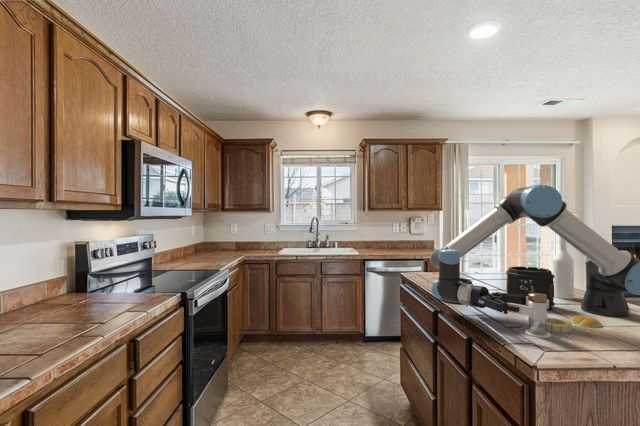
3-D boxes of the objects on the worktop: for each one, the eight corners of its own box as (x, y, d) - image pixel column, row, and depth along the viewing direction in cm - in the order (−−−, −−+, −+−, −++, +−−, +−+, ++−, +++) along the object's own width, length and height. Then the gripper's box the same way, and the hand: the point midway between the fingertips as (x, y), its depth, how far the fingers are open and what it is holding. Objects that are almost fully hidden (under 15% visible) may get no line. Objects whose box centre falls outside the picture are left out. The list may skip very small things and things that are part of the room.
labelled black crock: (540, 301, 157) (540, 266, 157) (564, 312, 139) (563, 272, 139) (498, 300, 158) (498, 265, 159) (516, 311, 141) (516, 272, 141)
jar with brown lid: (541, 330, 112) (541, 292, 112) (550, 335, 107) (550, 296, 107) (525, 330, 112) (525, 292, 112) (533, 335, 107) (533, 296, 107)
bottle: (556, 298, 161) (555, 233, 161) (550, 295, 168) (549, 232, 169) (577, 300, 158) (576, 234, 158) (569, 296, 166) (569, 233, 166)
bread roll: (581, 323, 125) (581, 312, 125) (607, 331, 116) (607, 319, 116) (563, 325, 123) (563, 314, 123) (588, 333, 114) (588, 321, 114)
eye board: (541, 324, 123) (541, 314, 123) (581, 334, 113) (581, 323, 113) (511, 335, 112) (511, 324, 112) (553, 347, 102) (553, 335, 102)
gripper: (490, 300, 133) (554, 312, 116) (455, 312, 117) (524, 328, 100) (490, 281, 133) (554, 290, 116) (455, 289, 117) (524, 302, 100)
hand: (540, 307), depth 108 cm, fingers open, 13 cm apart
